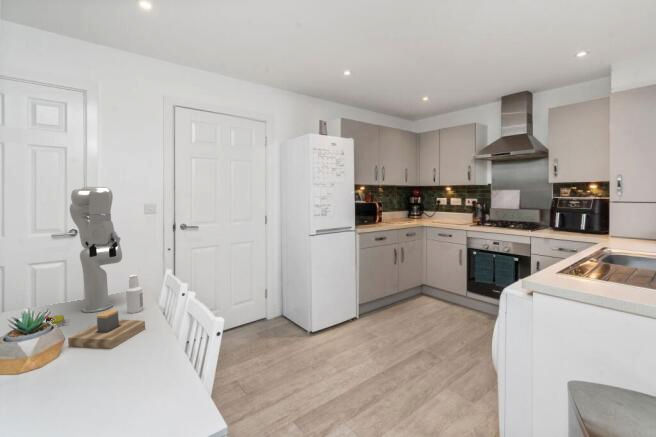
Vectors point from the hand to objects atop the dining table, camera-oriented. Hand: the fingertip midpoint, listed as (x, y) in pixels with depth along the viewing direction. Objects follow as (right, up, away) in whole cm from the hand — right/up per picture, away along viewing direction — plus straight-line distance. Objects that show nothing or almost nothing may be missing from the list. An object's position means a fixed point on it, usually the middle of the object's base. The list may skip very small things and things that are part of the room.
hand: (103, 256), depth 140 cm
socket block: (+12, -31, -13) cm, 36 cm away
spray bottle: (+4, -29, +17) cm, 34 cm away
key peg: (+12, -31, -13) cm, 36 cm away
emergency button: (-24, -31, -1) cm, 40 cm away
